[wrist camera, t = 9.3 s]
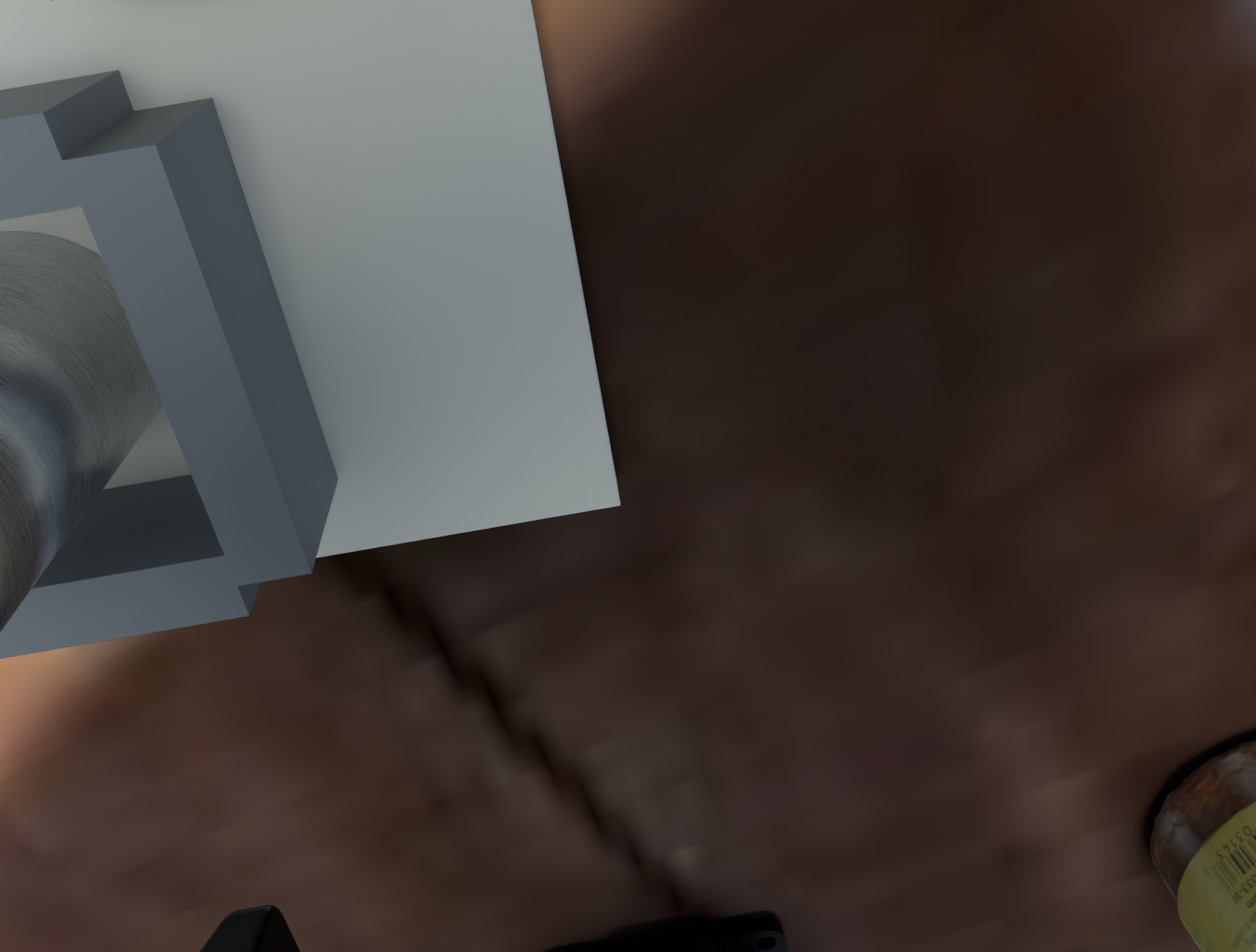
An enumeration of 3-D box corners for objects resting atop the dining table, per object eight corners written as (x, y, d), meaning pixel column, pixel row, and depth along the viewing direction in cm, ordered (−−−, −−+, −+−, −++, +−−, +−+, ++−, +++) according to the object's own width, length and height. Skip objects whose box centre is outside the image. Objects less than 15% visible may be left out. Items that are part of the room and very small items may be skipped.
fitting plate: (616, 479, 22) (635, 599, 18) (-80, 599, 22) (-193, 742, 18) (421, -617, 13) (388, -777, 10) (-697, -428, 13) (-1115, -521, 10)
